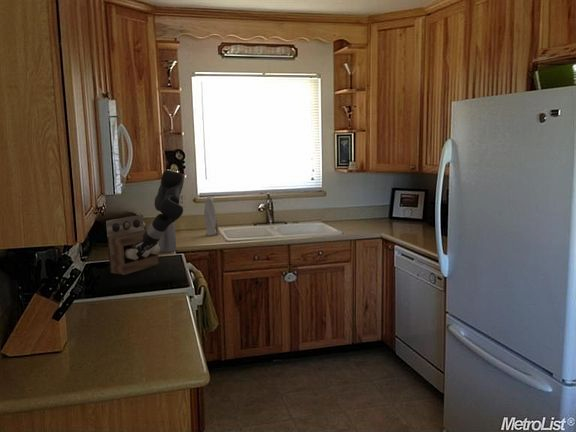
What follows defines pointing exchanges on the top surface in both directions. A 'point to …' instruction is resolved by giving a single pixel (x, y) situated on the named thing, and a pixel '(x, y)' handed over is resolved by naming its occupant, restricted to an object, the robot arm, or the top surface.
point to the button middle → (146, 253)
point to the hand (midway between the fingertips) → (138, 255)
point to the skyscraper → (210, 217)
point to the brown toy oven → (127, 245)
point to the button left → (130, 253)
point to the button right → (155, 249)
